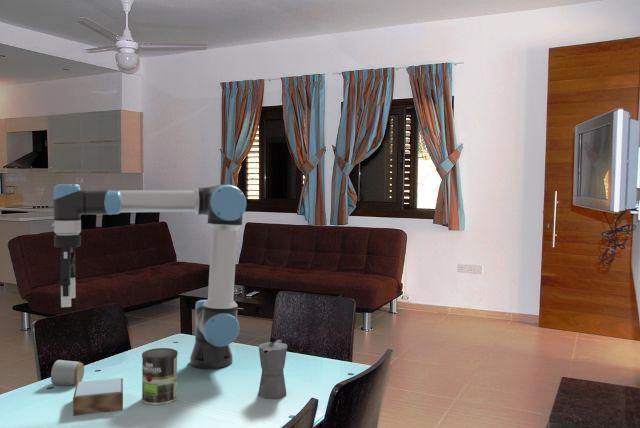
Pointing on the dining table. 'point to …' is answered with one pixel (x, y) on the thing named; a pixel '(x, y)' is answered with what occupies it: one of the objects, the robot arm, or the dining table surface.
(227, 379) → the dining table surface
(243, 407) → the dining table surface
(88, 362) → the dining table surface
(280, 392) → the coffeepot
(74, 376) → the ceramic mug
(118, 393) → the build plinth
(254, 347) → the dining table surface
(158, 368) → the coffee can
